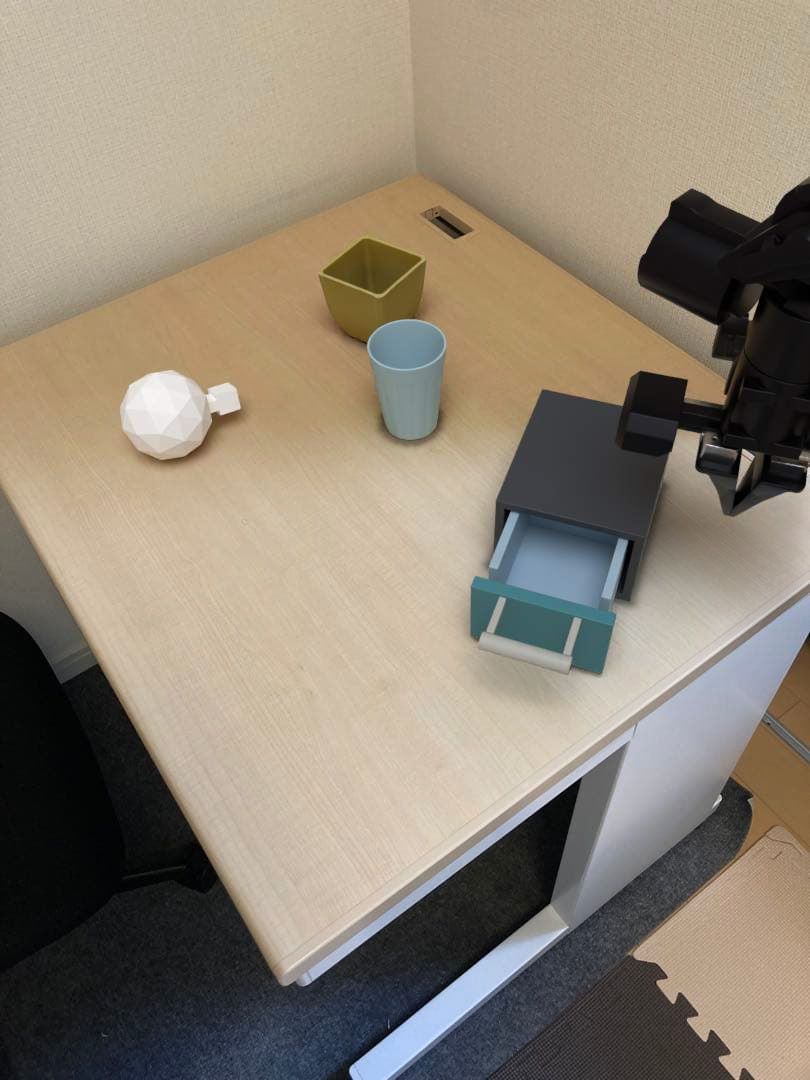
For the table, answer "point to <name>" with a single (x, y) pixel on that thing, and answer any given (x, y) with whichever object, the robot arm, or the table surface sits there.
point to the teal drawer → (549, 594)
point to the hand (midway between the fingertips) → (729, 511)
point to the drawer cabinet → (583, 476)
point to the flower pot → (372, 285)
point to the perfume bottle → (172, 413)
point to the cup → (408, 375)
